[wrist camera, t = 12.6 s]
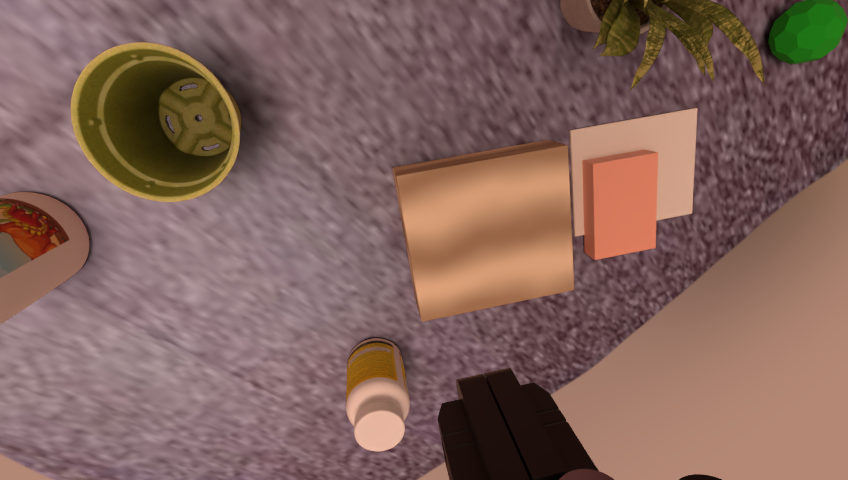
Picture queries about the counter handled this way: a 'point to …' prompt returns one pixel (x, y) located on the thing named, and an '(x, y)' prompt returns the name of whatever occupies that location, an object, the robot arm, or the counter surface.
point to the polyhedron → (807, 31)
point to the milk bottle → (36, 248)
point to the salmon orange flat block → (620, 203)
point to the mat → (651, 133)
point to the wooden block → (487, 227)
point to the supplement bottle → (377, 394)
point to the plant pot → (155, 122)
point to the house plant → (659, 28)
